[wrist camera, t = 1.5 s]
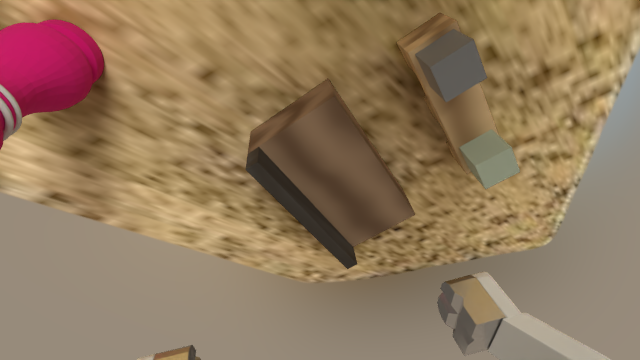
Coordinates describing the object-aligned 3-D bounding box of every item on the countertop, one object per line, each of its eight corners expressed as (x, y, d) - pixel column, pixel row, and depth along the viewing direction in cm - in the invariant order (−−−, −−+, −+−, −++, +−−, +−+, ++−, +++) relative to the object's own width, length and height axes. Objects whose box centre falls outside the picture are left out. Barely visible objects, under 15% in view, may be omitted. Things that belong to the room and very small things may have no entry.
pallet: (439, 12, 34) (456, 20, 31) (489, 137, 44) (506, 153, 40) (396, 42, 35) (408, 52, 32) (453, 157, 45) (467, 174, 42)
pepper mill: (97, 102, 36) (-51, 237, 20) (18, 63, 33) (-233, 185, 17) (120, 44, 33) (-33, 149, 17) (35, -5, 30) (-252, 66, 14)
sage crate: (491, 129, 38) (511, 146, 35) (500, 152, 40) (520, 171, 37) (458, 147, 39) (475, 166, 36) (469, 169, 41) (485, 189, 38)
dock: (328, 78, 37) (338, 108, 30) (403, 191, 47) (423, 230, 41) (250, 131, 40) (245, 169, 33) (338, 226, 50) (347, 268, 44)
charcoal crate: (453, 28, 31) (473, 39, 28) (467, 64, 33) (487, 77, 30) (415, 54, 32) (430, 67, 29) (430, 86, 34) (446, 102, 31)
